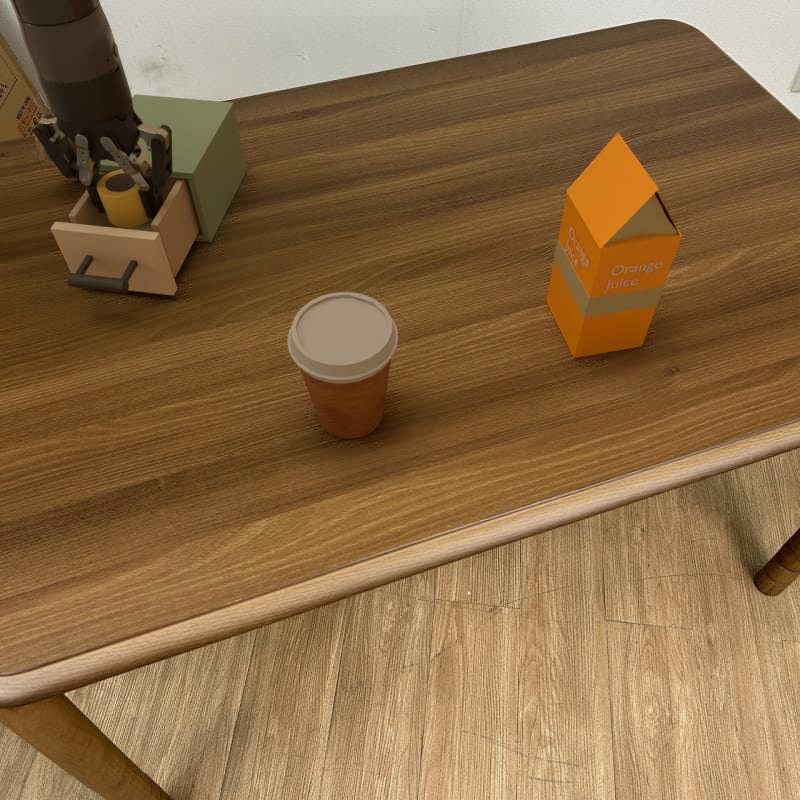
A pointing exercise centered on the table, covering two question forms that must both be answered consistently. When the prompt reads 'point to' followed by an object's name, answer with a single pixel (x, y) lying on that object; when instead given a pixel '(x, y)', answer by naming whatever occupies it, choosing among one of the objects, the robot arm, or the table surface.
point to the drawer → (129, 244)
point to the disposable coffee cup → (344, 359)
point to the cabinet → (198, 151)
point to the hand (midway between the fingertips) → (131, 210)
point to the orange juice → (610, 255)
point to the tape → (122, 200)
